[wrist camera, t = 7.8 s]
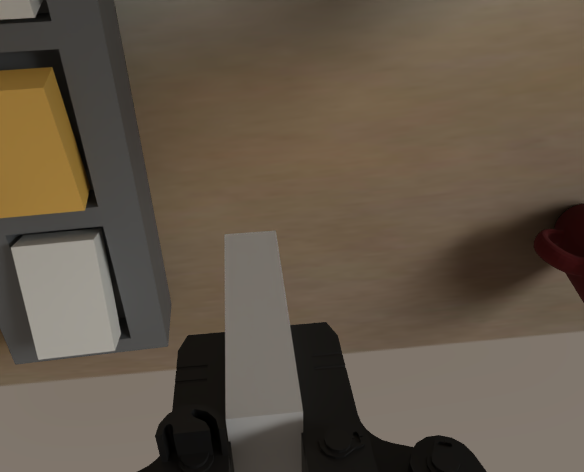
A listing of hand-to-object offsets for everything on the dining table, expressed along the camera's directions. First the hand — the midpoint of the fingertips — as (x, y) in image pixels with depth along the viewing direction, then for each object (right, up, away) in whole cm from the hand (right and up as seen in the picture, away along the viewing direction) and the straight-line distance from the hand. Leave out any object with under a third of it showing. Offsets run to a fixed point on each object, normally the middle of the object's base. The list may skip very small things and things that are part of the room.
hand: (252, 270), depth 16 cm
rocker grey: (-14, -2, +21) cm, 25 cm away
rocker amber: (-14, +7, +15) cm, 22 cm away
